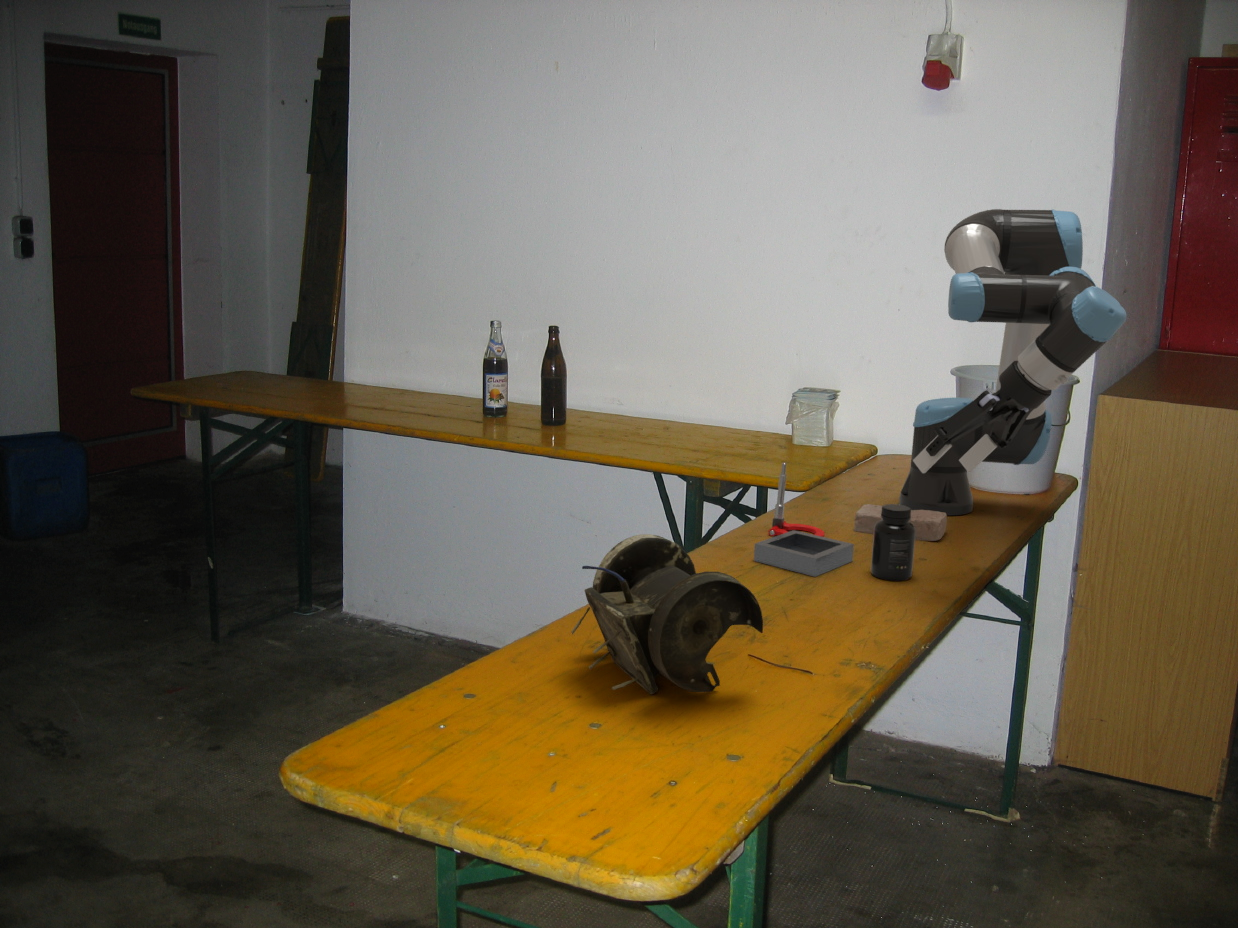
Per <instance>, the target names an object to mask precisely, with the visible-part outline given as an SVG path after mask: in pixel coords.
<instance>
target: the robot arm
mask: <svg viewBox="0 0 1238 928" xmlns="http://www.w3.org/2000/svg"><path fill="white" fill-rule="evenodd" d="M1081 224H1082V223H1081V219H1080V218H1079V216H1078V214H1077V213H1075V212H1073V211H1067V210H1055V209H1053V208H1051V209H1001V208H999V209H998V208H993V209H987V210H983V211H982V210H981V211H979V212H977V213H973V214H971V215H969V216H967V217H965V218H964V219H962V220H961V221H960V222H958V223H956V224H955V226H954V227H953V228H952V229H951V230H950V231H949V233H948V235H947V237H946V239H945V242H944V249H943V250H944V255H945V259H946V262H947V264H948V266H949V267H950V268H951V269H952V270H953V271H954V272H955V273H954V274H953V276H952V277H951V279H950V284H949V290H948V306H947V307H948V309H947V311H948V316H949V318H950V319H952V320H954V321H963V322H968V323H977V322H978V323H1005V325H1004V332H1003V339H1002V346H1001V352H1000V353H1001V354H1000V357H999V367H998V372H997V377H996V379H997V380H996V385H995V390H994V391H995V392H992V393H990V392H989V391H988V389H985V390H984V391H982V392H981V393H980V394H979V395H978V396H977V397H976V398H974V400H973V399H972V398H969V397H942V398H941V397H940V398H934V399H933V398H932V399H928V400H924V401H922V402H921V403H919V404H918V405H917V406H916V409H915V414H914V420H913V423H912V427H913V435H912V445H911V447H912V448H911V458H910V467H909V468H910V469H909V471H908V474H907V476H906V479H905V480H904V483H903V485H902V488H901V491H900V493H899V502H898V504H899V505H904V506H908V507H910V508H911V510H930V511H939V512H944V513H946V515H947V516H961V515H966V514H969V513H971V512H973V507H974V498H973V494H972V490H971V486H970V481H969V478H968V473H972V472H973V471H974V469H976V467H978V466H979V465H980V464H981V463H994V464H995V463H996V464H1008V465H1009V464H1010V465H1012V464H1013V465H1014V466H1019V465H1034V464H1035V465H1036V464H1037V463H1039V462H1040V461H1041V459H1043V457H1044V455H1045V453H1046V451H1047V447H1048V445H1049V441H1050V437H1051V430H1052V425H1053V424H1052V421H1053V420H1052V419H1053V418H1052V414H1051V412H1050V411H1049V410H1048V409H1046V408H1047V407H1046V403H1045V401H1046V400H1047V399H1048V398H1049V397H1050V396H1051V395H1052V391H1056V390H1057V389H1059V387H1060V386H1061V385H1062V384H1063V385H1066V384H1068V382H1069V378H1070V377H1071V376H1072V375H1073V374H1074V373H1075V372H1076V371H1077V370H1078V369H1079V368H1080V367H1081V366H1082V365H1083V364H1084V363H1086V362H1087V360H1089V359H1090V358H1091V357H1092V356H1093V355H1094V354H1095V353H1096V352H1097V351H1099V349H1100V348H1102V346H1104V345H1105V344H1106V343H1107V342H1108V341H1110V340H1111V339H1112V338H1114V336H1115V334H1116V332H1118V330H1120V329H1121V327H1122V326H1123V325H1124V324H1125V323H1126V321H1127V317H1128V316H1127V311H1126V309H1125V308H1124V307H1123V306H1122V305H1121V303H1120V302H1119V301H1118V300H1117V299H1116V298H1115V297H1114V296H1113V295H1112V294H1110V293H1109V292H1107V291H1106V290H1105V289H1103V288H1101V287H1098V286H1097V285H1096V283H1095V281H1093V279H1092V277H1091V276H1090V274H1088V272H1087V271H1086V270H1084V269H1082V266H1083V254H1084V253H1083V252H1084V249H1083V245H1084V244H1083V243H1084V241H1083V231H1082V225H1081Z"/></svg>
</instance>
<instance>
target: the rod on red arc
mask: <svg viewBox="0 0 1238 928" xmlns="http://www.w3.org/2000/svg"><path fill="white" fill-rule="evenodd" d="M786 471H787V462H782V463H781V472H780V474H779V478H778V479H779V480H778V488H777V489H778V490H777V499H776V504H775V505H774V514H773V515H774V518H772V525H771V528H770V529H769V530H768V535H769V536H770V537H775V536H778V535H781V534H784V533H787V532H788V531H792V530H795V531H802V532H808V533H810V534H813V535H817V536H821V537H825V531H824V530H822V529H821V528H819V527H816V526H813V525H808V524H802V523H789V522H787V521H785V516H784V515H785V504H784V501H785V494H786V493H785V491H786V483H787V473H786Z"/></svg>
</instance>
